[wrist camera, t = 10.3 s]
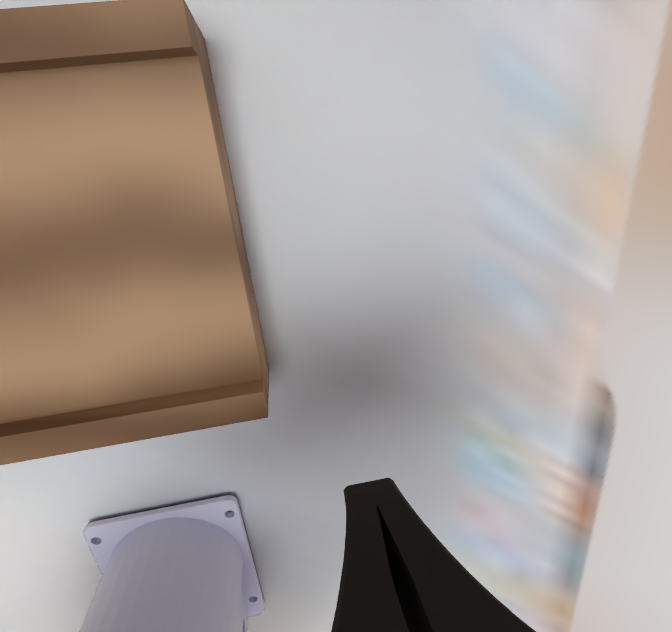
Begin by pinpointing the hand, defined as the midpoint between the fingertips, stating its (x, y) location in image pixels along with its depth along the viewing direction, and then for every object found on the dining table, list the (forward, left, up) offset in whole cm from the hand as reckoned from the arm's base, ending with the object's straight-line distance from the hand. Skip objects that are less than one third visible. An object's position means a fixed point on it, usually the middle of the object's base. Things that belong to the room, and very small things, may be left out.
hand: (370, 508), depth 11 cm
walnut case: (+7, +11, -9) cm, 16 cm away
